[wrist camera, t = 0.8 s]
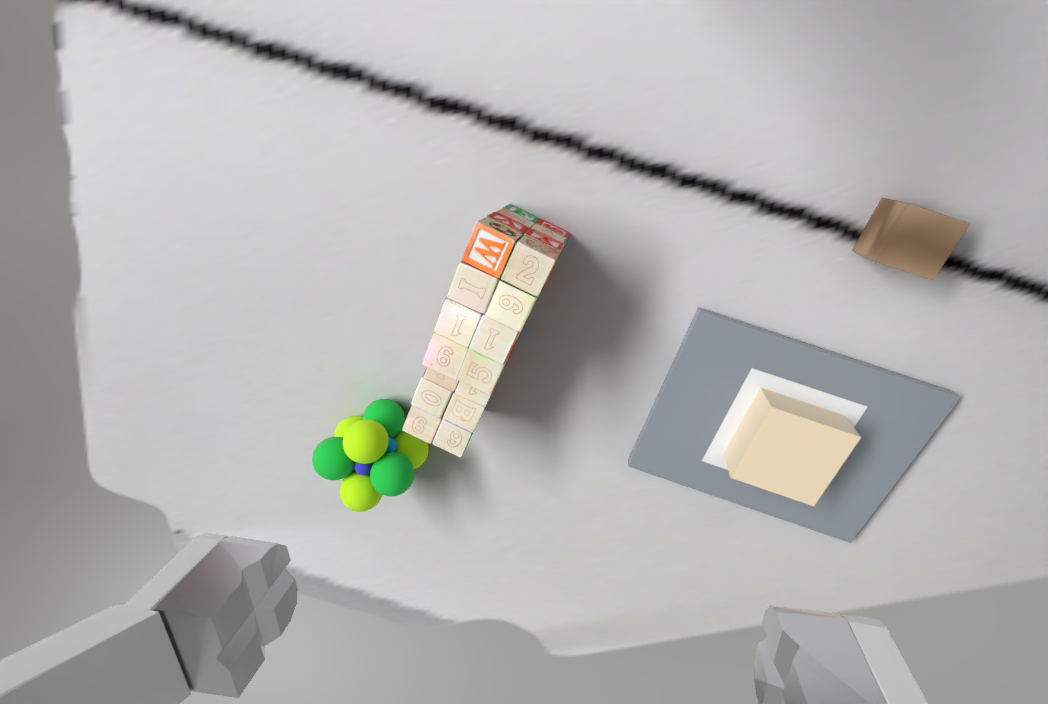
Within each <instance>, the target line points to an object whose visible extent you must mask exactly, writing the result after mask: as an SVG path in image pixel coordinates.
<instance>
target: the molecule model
mask: <svg viewBox="0 0 1048 704" xmlns="http://www.w3.org/2000/svg"><path fill="white" fill-rule="evenodd" d="M404 422H405V415H404V412H403V410H402V408H401V407H400V405H399V404H397V403H396V402H394V401H392V400H389V399H380V400H377V401H375V402H373V403H371V404H370V405H369V406H368V407H367V409H366V410H365V412H364V415H363V417H361V416H351V417H348V418H345V419H344V420H342V421H341V422H340V423H339V424H338V426H337V428H336V430H335V433H334V437H331V438H328V439H325V440H324V441H322V442H321V443H320V444H319V445H318V446H317V447H316V449H315V451H314V454H313V459H312V461H313V466H314V469H315V471H316V472H317V473H318V474H319V475H320V476H321V477H323V478H325V479H328V480H339V479H342V478H344V479H343V481H342V483H341V486H340V497H341V500H342V502H343V503H344V505H345V506H346V507H348V508H349V509H351V510H354V511H366V510H369V509H371V508H373V507H374V506H375V505H376V504H377V503H378V502H379V501H380V499H381V497H382V495H385V496H397V495H400V494H402V493H404V492H405V491H406V490H407V489H408V488H409V487H410V486H411V484H412V482H413V479H414V469H416V468H418V467H420V466H421V465H422V464H423V463H424V462H425V460H426V458H427V456H428V451H429V448H428V443H427V442H425V441H423V440H421V439H419V438H417V437H415V436H413V435H411V434H409V433H407V432H405V431H401V430H402V428H403V425H404ZM400 431H401V432H400ZM353 470H354V471H353Z"/></svg>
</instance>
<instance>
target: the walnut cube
mask: <svg viewBox="0 0 1048 704" xmlns="http://www.w3.org/2000/svg"><path fill="white" fill-rule="evenodd" d="M969 225H970V223H968V222H965V221H962V220H959V219H956V218H952V217H949V216H946V215H943V214H940V213H937V212H934V211H931V210H927V209H924V208H921V207H918V206H915V205H912V204H908V203H903V202H899V201H894V200H890V199H885V198H882V199H881V200H880V202H879V204H878V206H877V207H876V209H875V211H874V213H873V214H872V216H871V218H870V220H869V221H868V223H867V225H866V227H865V228H864V230H863V232H862V234H861V235H860V237H859V239H858V241H857V242H856V244H855V246H854V248H853V249H852V251H854V252H856V253H858V254H860V255H862V256H865V257H867V258H869V259H871V260H873V261H875V262H878V263H881V264H884V265H887V266H890V267H893V268H896V269H899V270H903V271H906V272H909V273H912V274H915V275H918V276H921V277H924V278H927V279H930V280H934V278H935V277H936V275H937V274H938V272H939V271H940V269H941V268H942V266H943V264H944V263H945V261H946V260H947V258H948V257H949V255H950V254H951V252H952V251H953V249H954V248H955V246H956V245H957V243H958V242H959V240H960V239H961V237H962V236H963V234H964V233H965V231H966V229H967V228H968V226H969Z"/></svg>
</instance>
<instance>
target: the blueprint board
mask: <svg viewBox="0 0 1048 704" xmlns="http://www.w3.org/2000/svg"><path fill="white" fill-rule="evenodd" d="M959 399H960V397H959V396H958V395H956V394H955V393H954V392H953V391H950V390H946V389H943V388H940V387H937V386H934V385H931V384H928V383H925V382H922V381H919V380H916V379H913V378H910V377H907V376H904V375H901V374H898V373H895V372H892V371H889V370H886V369H883V368H880V367H877V366H874V365H871V364H868V363H865V362H862V361H859V360H856V359H853V358H850V357H847V356H844V355H841V354H837V353H834V352H831V351H828V350H825V349H822V348H819V347H816V346H813V345H810V344H807V343H804V342H801V341H798V340H795V339H792V338H789V337H786V336H783V335H780V334H777V333H774V332H771V331H768V330H765V329H762V328H759V327H756V326H753V325H750V324H747V323H744V322H741V321H738V320H735V319H732V318H728V317H725V316H722V315H719V314H716V313H713V312H710V311H707V310H704V309H701V308H698V310H697V312H696V314H695V316H694V318H693V320H692V323H691V325H690V327H689V329H688V331H687V333H686V336H685V338H684V340H683V342H682V344H681V346H680V349H679V351H678V353H677V355H676V357H675V359H674V361H673V364H672V366H671V368H670V370H669V372H668V374H667V377H666V379H665V381H664V383H663V385H662V387H661V390H660V392H659V394H658V396H657V398H656V400H655V403H654V405H653V407H652V409H651V411H650V413H649V416H648V418H647V420H646V422H645V424H644V426H643V429H642V431H641V433H640V435H639V437H638V439H637V442H636V444H635V446H634V448H633V450H632V452H631V454H630V457H629V459H628V466H629V467H632V468H635V469H638V470H641V471H644V472H647V473H650V474H652V475H655V476H658V477H661V478H664V479H667V480H670V481H673V482H676V483H679V484H681V485H684V486H687V487H690V488H693V489H696V490H699V491H702V492H705V493H708V494H711V495H713V496H716V497H719V498H722V499H725V500H728V501H731V502H734V503H737V504H740V505H742V506H745V507H748V508H751V509H754V510H757V511H760V512H763V513H766V514H769V515H771V516H774V517H777V518H780V519H783V520H786V521H789V522H792V523H795V524H798V525H801V526H803V527H806V528H809V529H812V530H815V531H818V532H821V533H824V534H827V535H830V536H832V537H835V538H838V539H841V540H844V541H847V542H850V543H851V542H852V540H853V539H854V538H855V536H856V535H857V534H858V532H859V531H860V530H861V528H862V527H863V526H864V524H865V523H866V522H867V521H868V519H869V518H870V517H871V515H872V514H873V513H874V511H875V510H876V509H877V507H878V506H879V505H880V503H881V502H882V501H883V499H884V498H885V497H886V495H887V494H888V493H889V491H890V490H891V489H892V487H893V486H894V485H895V484H896V482H897V481H898V480H899V478H900V477H901V476H902V474H903V473H904V472H905V470H906V469H907V468H908V466H909V465H910V464H911V462H912V461H913V460H914V458H915V457H916V456H917V454H918V453H919V452H920V451H921V449H922V448H923V447H924V445H925V444H926V443H927V441H928V440H929V439H930V437H931V436H932V435H933V433H934V432H935V431H936V429H937V428H938V427H939V425H940V424H941V423H942V421H943V420H944V419H945V418H946V416H947V415H948V414H949V412H950V411H951V410H952V408H953V407H954V406H955V404H956V403H957V402H958V400H959Z"/></svg>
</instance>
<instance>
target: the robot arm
mask: <svg viewBox="0 0 1048 704" xmlns="http://www.w3.org/2000/svg"><path fill="white" fill-rule="evenodd" d="M289 562H290V556H289V553H288V550H287V547H286V546H285V545H281V544H277V543H271V542H265V541H259V540H252V539H246V538H240V537H233V536H224V535H218V534H211V533H205V534H202V535H200V536H197V537H195V538H194V539H193V540H192V541H191V542H190V543H189V544H188V545H187V546H186V547H184V548H183V549H182V550H181V551H180V552H179V553H178V554H177V555H176V556H175V557H174V558H173V559H172V560H171V561H170V562H169V563H168V564H167V565H165V566H164V567H163V568H162V569H161V570H160V571H159V572H158V573H157V574H156V575H155V576H154V577H153V578H152V579H151V580H149V581H148V582H147V583H146V584H145V585H144V586H143V587H142V588H141V589H140V590H139V591H138V592H137V593H136V594H135V595H134V596H132V597H131V598H130V599H129V600H128V601H127V602H126V603H125V604H124V605H123V606H122V605H113V606H111V607H109V608H107V609H105V610H103V611H101V612H99V613H96V614H94V615H93V616H90V617H88V618H86V619H84V620H82V621H80V622H78V623H76V624H74V625H72V626H70V627H68V628H66V629H64V630H62V631H60V632H58V633H55V634H53V635H51V636H49V637H47V638H45V639H43V640H41V641H39V642H37V643H35V644H33V645H31V646H29V647H27V648H25V649H23V650H20V651H18V652H16V653H14V654H12V655H10V656H8V657H6V658H4V659H2V660H0V704H179V703H180V702H182V701H183V700H184V699H186V698H187V697H188V696H189V695H191V692H190V691H194V692H201V693H208V694H215V695H222V696H228V697H235V698H239V697H240V695H241V694H242V692H243V690H244V689H245V688H246V686H247V685H248V683H249V682H250V681H251V679H252V678H253V676H254V674H255V673H256V672H257V670H258V669H259V667H260V666H261V664H262V663H263V661H264V660H265V646H266V645H267V644H268V643H270V642H272V641H273V640H275V639H276V638H278V637H279V636H281V635H282V633H283V631H284V630H285V628H286V627H287V625H288V624H289V622H290V621H291V618H292V615H293V612H294V609H295V607H296V604H297V591H298V589H297V585H296V580H295V578H294V577H293V576H292V575H291V574H290V573H289V572H288V571H287V570H286V569H285V568H286V566H287V565H288V563H289ZM762 624H763V628H764V631H765V634H766V638H765V639H763V640H762V641H760V642H759V643H757V647H756V652H755V657H754V681H755V688H756V694H757V699H758V703H759V704H928V702H927V700H926V698H925V696H924V695H923V693H922V692H921V689H920V688H919V686H918V684H917V682H916V681H915V679H914V677H913V675H912V673H911V671H910V669H909V668H908V666H907V664H906V662H905V661H904V659H903V657H902V655H901V653H900V652H899V650H898V648H897V646H896V645H895V643H894V641H893V639H892V637H891V635H890V634H889V632H888V630H887V628H886V626H885V625H884V624H883V623H882V622H881V621H879V620H878V619H875V618H867V617H859V616H851V615H842V614H840V615H838V614H836V613H828V612H819V611H811V610H802V609H793V608H785V607H776V606H769V607H768V608H767V610H766V611H765V614H764V618H763V622H762Z"/></svg>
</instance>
